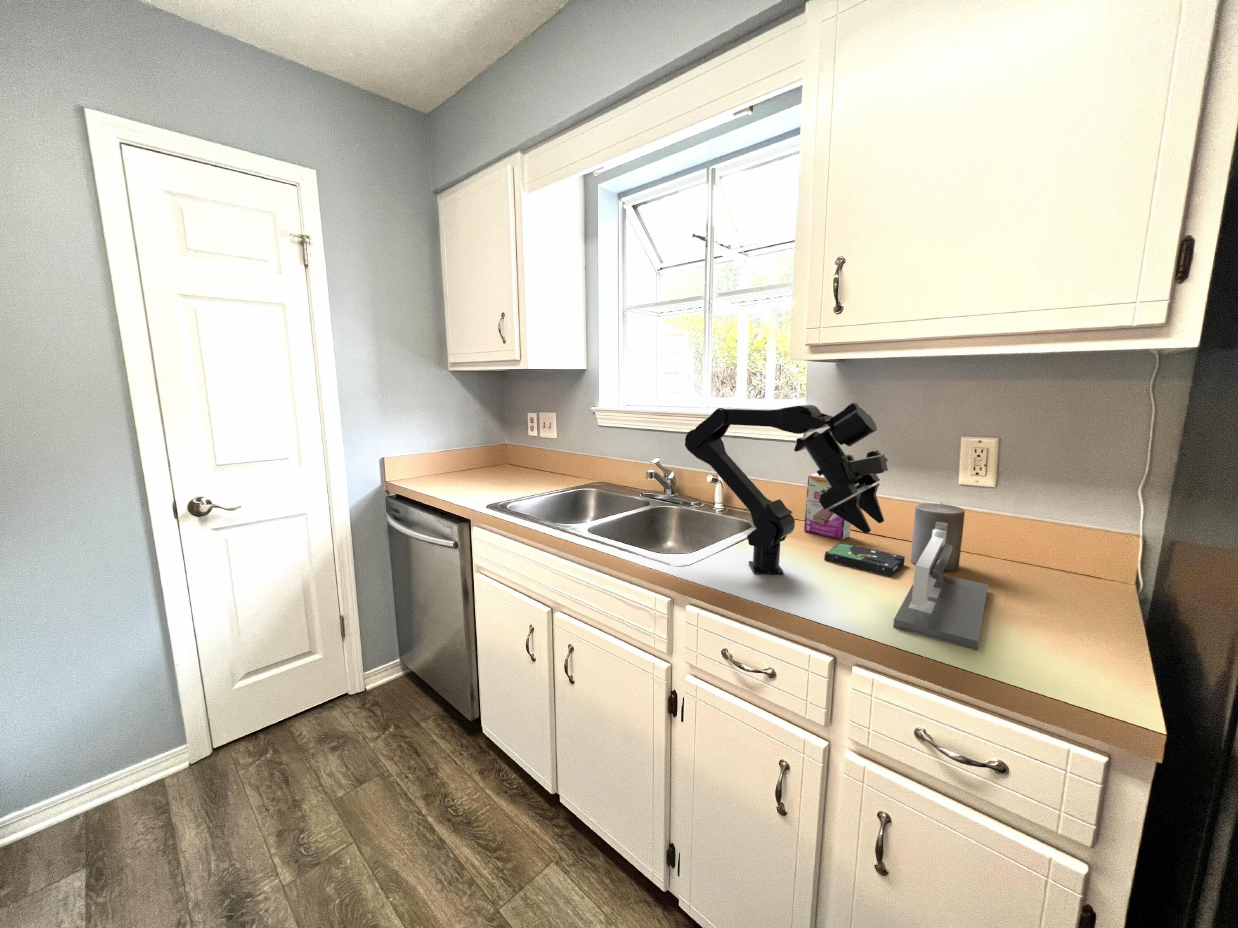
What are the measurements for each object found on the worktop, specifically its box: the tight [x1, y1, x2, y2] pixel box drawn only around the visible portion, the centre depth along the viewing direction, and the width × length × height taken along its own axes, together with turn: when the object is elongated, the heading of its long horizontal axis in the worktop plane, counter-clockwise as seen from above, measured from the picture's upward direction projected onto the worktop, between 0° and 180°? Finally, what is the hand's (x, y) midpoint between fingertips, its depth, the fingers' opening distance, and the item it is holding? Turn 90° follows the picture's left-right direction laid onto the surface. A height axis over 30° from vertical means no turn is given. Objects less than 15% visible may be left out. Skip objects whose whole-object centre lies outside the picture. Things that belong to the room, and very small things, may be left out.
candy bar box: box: [803, 472, 852, 541], centre depth 138 cm, size 11×5×16 cm, turn 43°
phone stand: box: [892, 522, 989, 651], centre depth 94 cm, size 12×29×13 cm, turn 142°
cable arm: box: [911, 529, 952, 607], centre depth 95 cm, size 24×4×9 cm, turn 142°
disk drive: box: [823, 542, 906, 578], centre depth 118 cm, size 10×3×15 cm
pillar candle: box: [910, 502, 966, 573], centre depth 116 cm, size 10×10×15 cm
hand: (875, 527), depth 97 cm, fingers open, 9 cm apart
